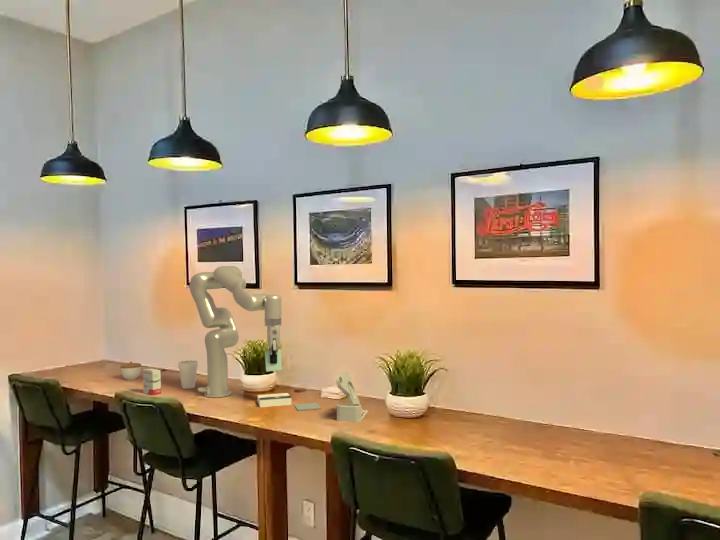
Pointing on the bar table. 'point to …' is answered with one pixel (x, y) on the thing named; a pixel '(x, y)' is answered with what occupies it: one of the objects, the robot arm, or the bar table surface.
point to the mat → (307, 406)
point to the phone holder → (352, 409)
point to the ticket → (273, 366)
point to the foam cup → (188, 373)
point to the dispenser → (274, 400)
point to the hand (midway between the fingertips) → (273, 362)
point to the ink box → (152, 381)
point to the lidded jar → (131, 370)
